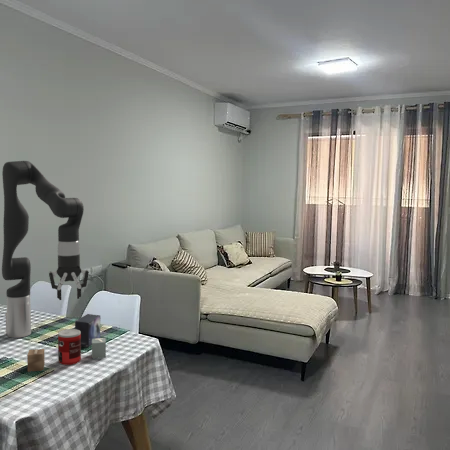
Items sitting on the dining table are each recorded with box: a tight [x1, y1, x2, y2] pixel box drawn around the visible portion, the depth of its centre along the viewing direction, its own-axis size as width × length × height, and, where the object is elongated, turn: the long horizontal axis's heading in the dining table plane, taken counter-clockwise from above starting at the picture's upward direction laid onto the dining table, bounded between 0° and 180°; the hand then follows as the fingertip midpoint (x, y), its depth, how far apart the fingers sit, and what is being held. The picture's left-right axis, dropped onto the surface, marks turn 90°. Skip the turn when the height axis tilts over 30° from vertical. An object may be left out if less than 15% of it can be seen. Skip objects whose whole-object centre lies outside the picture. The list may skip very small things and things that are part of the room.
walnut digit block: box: [26, 348, 45, 373], centre depth 159 cm, size 5×5×6 cm
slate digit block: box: [91, 337, 107, 360], centre depth 171 cm, size 5×5×6 cm
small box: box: [74, 313, 101, 348], centre depth 184 cm, size 11×6×10 cm, turn 168°
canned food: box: [57, 328, 82, 366], centre depth 165 cm, size 8×8×11 cm
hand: (69, 298), depth 163 cm, fingers open, 5 cm apart
